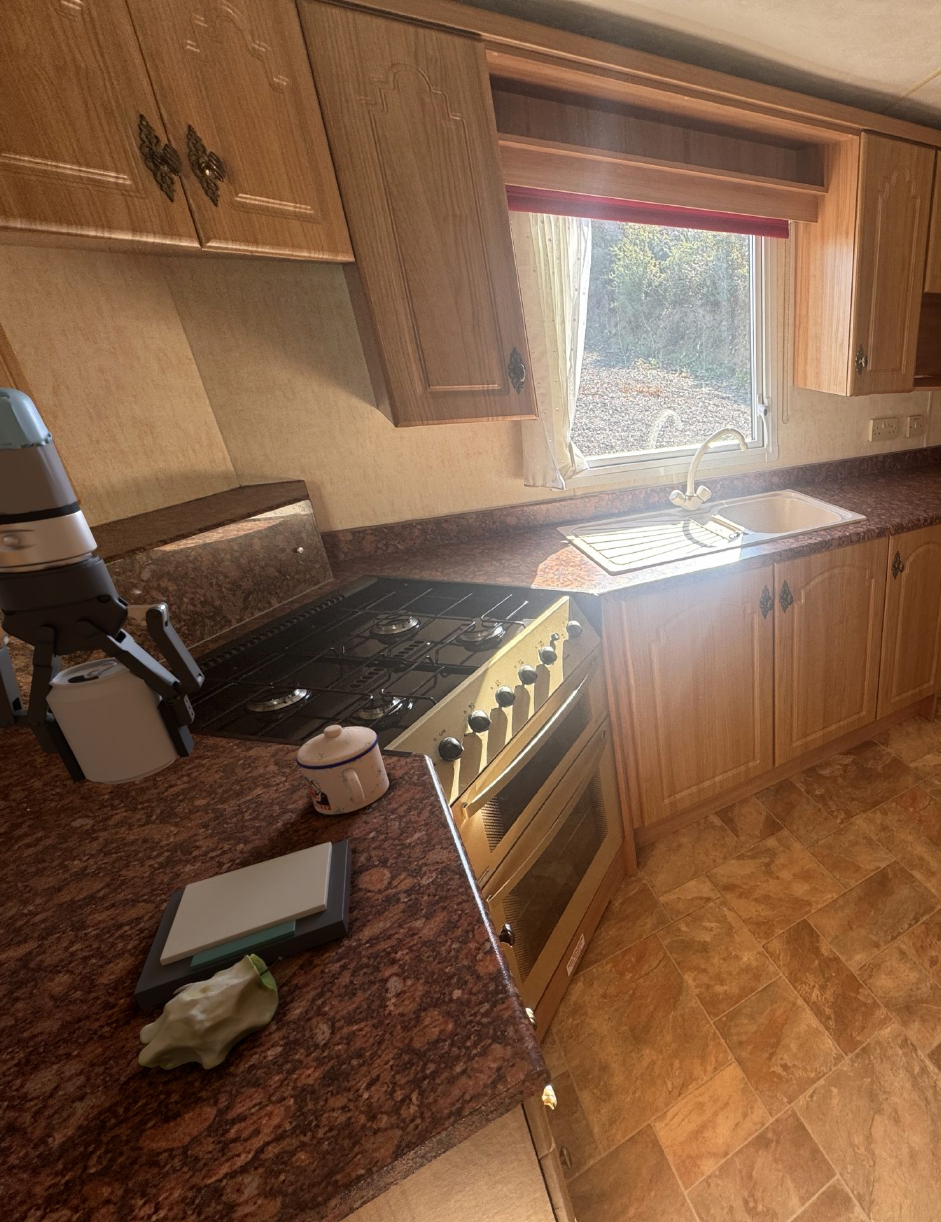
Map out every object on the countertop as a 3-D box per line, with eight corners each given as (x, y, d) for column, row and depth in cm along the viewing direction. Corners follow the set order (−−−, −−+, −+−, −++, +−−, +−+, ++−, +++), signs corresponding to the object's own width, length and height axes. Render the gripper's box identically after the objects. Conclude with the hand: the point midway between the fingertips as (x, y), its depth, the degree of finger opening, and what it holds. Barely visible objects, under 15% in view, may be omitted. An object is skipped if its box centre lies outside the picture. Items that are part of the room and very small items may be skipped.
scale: (145, 1016, 60) (129, 988, 59) (181, 913, 71) (168, 887, 70) (350, 940, 68) (340, 914, 67) (354, 858, 79) (346, 834, 78)
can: (69, 782, 67) (16, 681, 62) (153, 743, 73) (111, 649, 69) (123, 794, 65) (72, 691, 60) (203, 752, 72) (163, 657, 67)
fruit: (306, 987, 65) (296, 934, 61) (248, 1090, 56) (233, 1035, 53) (197, 988, 62) (181, 934, 59) (121, 1095, 54) (97, 1039, 51)
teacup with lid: (308, 798, 89) (283, 727, 85) (383, 770, 95) (363, 703, 91) (325, 842, 82) (299, 766, 77) (406, 809, 88) (385, 737, 83)
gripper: (-156, 591, 52) (-21, 815, 61) (177, 554, 62) (252, 750, 71) (-103, 566, 58) (13, 774, 67) (194, 536, 68) (261, 720, 77)
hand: (136, 762), depth 69 cm, fingers closed on can, 7 cm apart
